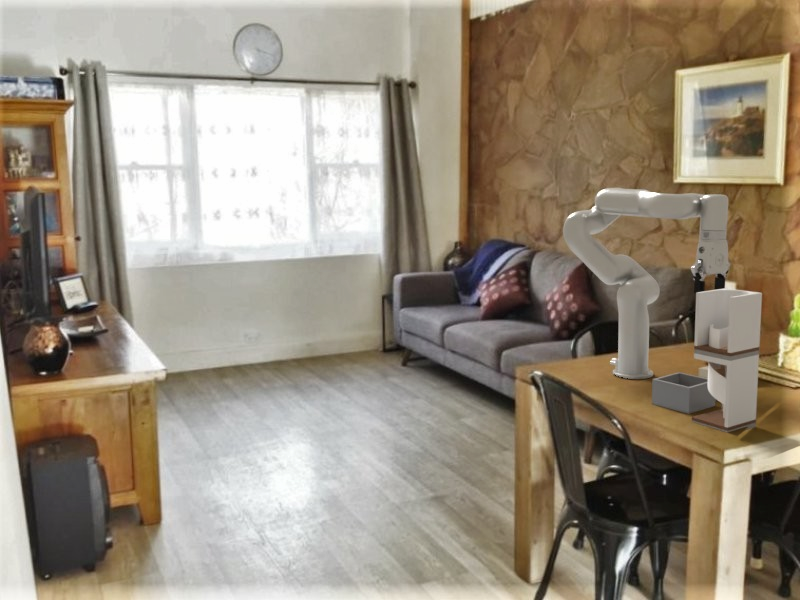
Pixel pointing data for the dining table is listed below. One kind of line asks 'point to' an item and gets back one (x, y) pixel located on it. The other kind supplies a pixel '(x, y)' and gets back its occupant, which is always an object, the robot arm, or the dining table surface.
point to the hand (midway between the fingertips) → (709, 292)
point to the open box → (682, 393)
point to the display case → (729, 354)
